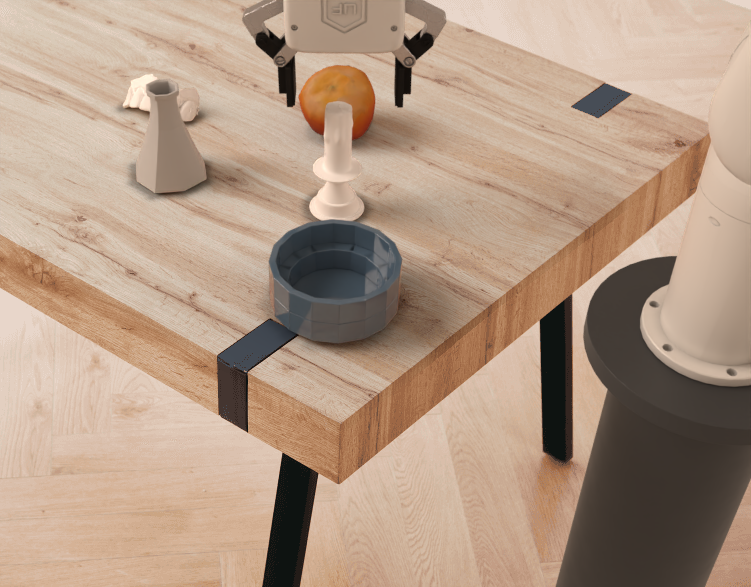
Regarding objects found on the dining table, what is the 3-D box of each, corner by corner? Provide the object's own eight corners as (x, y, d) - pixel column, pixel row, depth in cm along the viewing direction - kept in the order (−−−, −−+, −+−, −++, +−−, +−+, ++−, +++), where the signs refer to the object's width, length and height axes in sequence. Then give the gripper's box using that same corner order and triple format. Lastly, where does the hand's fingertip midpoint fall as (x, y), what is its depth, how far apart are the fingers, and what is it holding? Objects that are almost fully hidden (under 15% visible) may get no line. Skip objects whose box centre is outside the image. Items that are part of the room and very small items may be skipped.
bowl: (420, 289, 97) (424, 246, 93) (358, 365, 89) (359, 321, 86) (314, 248, 100) (314, 205, 97) (246, 317, 93) (243, 273, 90)
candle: (369, 221, 104) (374, 114, 96) (315, 227, 103) (315, 120, 95) (357, 189, 108) (360, 83, 100) (304, 195, 106) (304, 89, 99)
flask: (124, 164, 109) (112, 77, 103) (191, 147, 112) (183, 61, 105) (149, 203, 105) (139, 114, 98) (218, 183, 107) (212, 96, 101)
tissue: (172, 134, 114) (169, 103, 111) (118, 109, 117) (113, 78, 114) (207, 112, 117) (205, 81, 115) (153, 88, 120) (150, 58, 118)
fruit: (396, 103, 117) (382, 64, 110) (366, 165, 115) (349, 129, 108) (332, 83, 120) (313, 43, 112) (301, 143, 118) (280, 107, 111)
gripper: (230, -71, 83) (245, 121, 94) (455, -70, 83) (443, 122, 94) (238, -107, 88) (251, 78, 99) (449, -106, 89) (438, 79, 100)
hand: (345, 99), depth 97 cm, fingers open, 9 cm apart
